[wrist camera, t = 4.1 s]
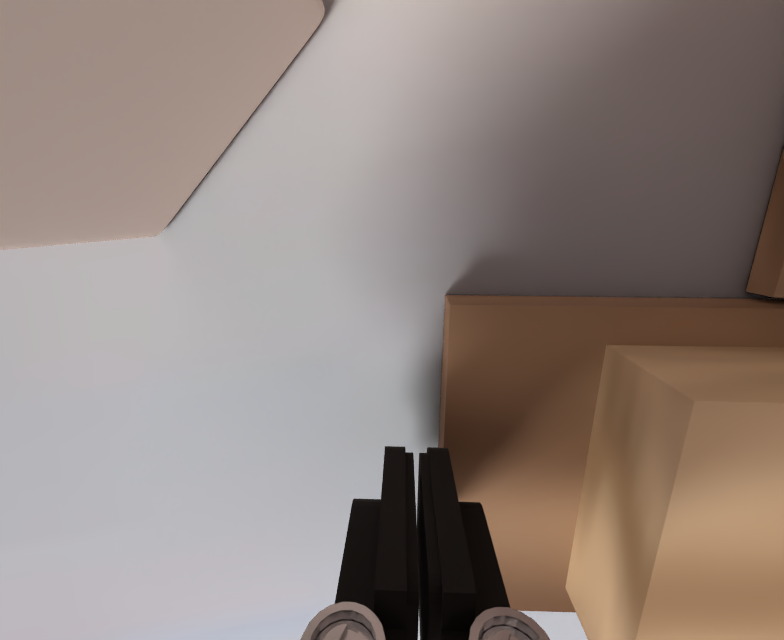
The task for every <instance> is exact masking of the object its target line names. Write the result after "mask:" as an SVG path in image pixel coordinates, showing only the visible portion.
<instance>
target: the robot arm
mask: <svg viewBox="0 0 784 640" xmlns="http://www.w3.org/2000/svg"><path fill="white" fill-rule="evenodd" d="M418 614H419V618H420V640H550V639H549V637H548V635H547V634H546V632H545V631H544V630H543V629H542V628H541V627H540V626H539V625H538V624H537V623H536V622H535V621H534V620H533V619H532V618H530V617H528V616H527V615H525V614H524V613H522V612H520V611H517V610H514V609H511V608H510V604H509V600H508V597H507V593H506V590H505V586H504V582H503V579H502V575H501V571H500V568H499V564H498V560H497V557H496V553H495V550H494V546H493V542H492V539H491V535H490V531H489V528H488V524H487V521H486V517H485V513H484V510H483V507H482V504H481V503H480V502H459V501H458V495H457V490H456V485H455V480H454V475H453V470H452V465H451V460H450V455H449V450H448V448H430V447H428V448H427V453H419V476H418V506H417V525H416V503H415V481H414V459H413V453H405V447H390V446H385V455H384V468H383V482H382V495H381V500H380V499H354V500H353V503H352V508H351V514H350V519H349V525H348V531H347V537H346V542H345V548H344V554H343V560H342V565H341V571H340V577H339V583H338V588H337V594H336V600H335V604H333V605H330V606H328V607H327V608H325V609H323V610H322V611H320V612H319V613H318V614H317V615H316V616H315V617H314V618H313V619H312V620H311V621H310V622H309V624H308V626H307V628H306V630H305V632H304V633H303V635H302V638H301V640H418Z"/></svg>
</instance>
